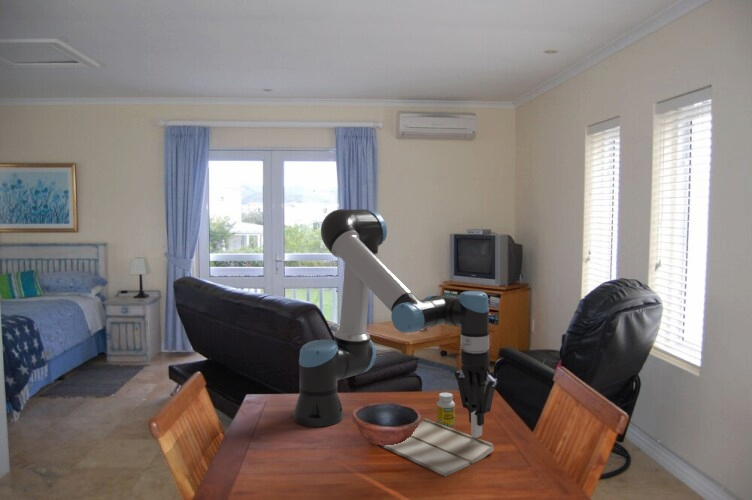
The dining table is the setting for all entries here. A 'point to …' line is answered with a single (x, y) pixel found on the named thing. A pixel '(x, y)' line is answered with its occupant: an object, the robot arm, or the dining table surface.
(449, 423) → the supplement bottle
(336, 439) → the dining table surface
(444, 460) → the laid board
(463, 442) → the plank
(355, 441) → the dining table surface
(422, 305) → the robot arm
